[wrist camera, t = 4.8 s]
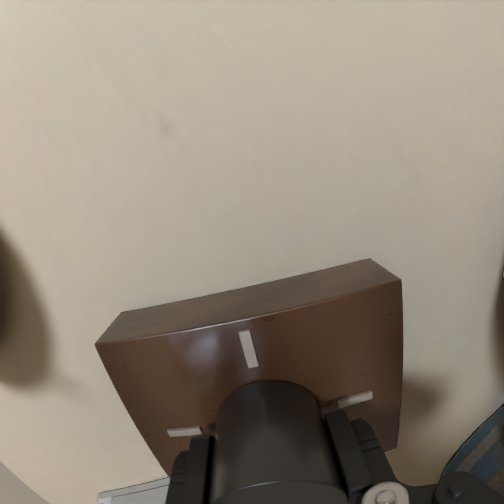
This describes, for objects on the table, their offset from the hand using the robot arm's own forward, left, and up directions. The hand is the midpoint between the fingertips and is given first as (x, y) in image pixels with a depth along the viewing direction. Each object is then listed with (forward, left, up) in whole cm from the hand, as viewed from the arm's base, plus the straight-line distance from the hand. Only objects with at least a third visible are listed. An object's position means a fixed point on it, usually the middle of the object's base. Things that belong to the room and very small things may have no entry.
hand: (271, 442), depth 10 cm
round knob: (0, 0, -1) cm, 1 cm away
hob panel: (0, 0, -4) cm, 4 cm away
